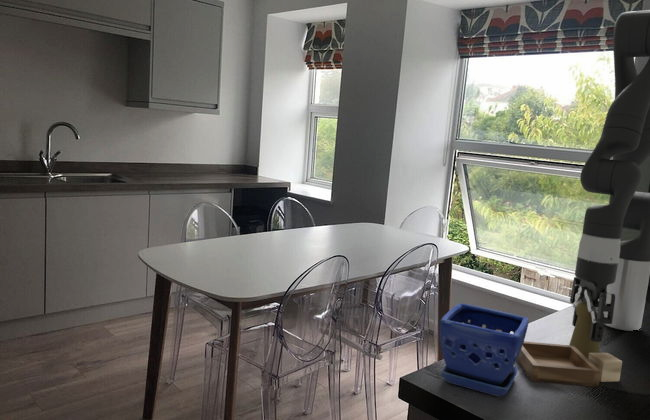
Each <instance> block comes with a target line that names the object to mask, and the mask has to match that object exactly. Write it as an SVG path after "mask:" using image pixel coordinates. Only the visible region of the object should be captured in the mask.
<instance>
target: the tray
mask: <svg viewBox="0 0 650 420" xmlns="http://www.w3.org/2000/svg"><path fill="white" fill-rule="evenodd" d="M517 361H518V362H519V363H518V362H517ZM517 361H516V362H517V363H518V365H519V364H520V365H521V366H520V365H519V366H520V368H521V367H522V368H523V369H522V368H521V369H522V371H525V372H524V373H525V374H526V375H528V376H527V377H528V379H529V378H530V379H529V380H530V382H537V381H538V382H539V383H549V384H560V385H561V384H562V385H570V386H571V385H572V386H582V387H583V386H585V387H593V388H594V387H595V388H599V386H600V381H599V380H600V374H601V371H600V370H599V369H598V368H597V367H596V366H595V365H594V364H593V363H591V362H590V361H589V360H588V359H587V358H586V357H585V356H584V355H583V354H582V353H581V352H580V351H579V350H578V349H577V348H576V347H575V346H571V345H569V344H557V343H548V342H547V343H546V342H534V341H526V340H524V343H523V345H522V348H521V351H520V354H519V356H518V358H517Z"/></svg>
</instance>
